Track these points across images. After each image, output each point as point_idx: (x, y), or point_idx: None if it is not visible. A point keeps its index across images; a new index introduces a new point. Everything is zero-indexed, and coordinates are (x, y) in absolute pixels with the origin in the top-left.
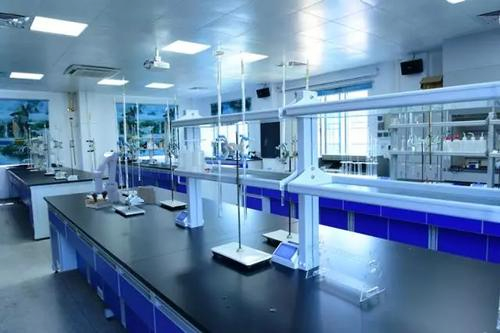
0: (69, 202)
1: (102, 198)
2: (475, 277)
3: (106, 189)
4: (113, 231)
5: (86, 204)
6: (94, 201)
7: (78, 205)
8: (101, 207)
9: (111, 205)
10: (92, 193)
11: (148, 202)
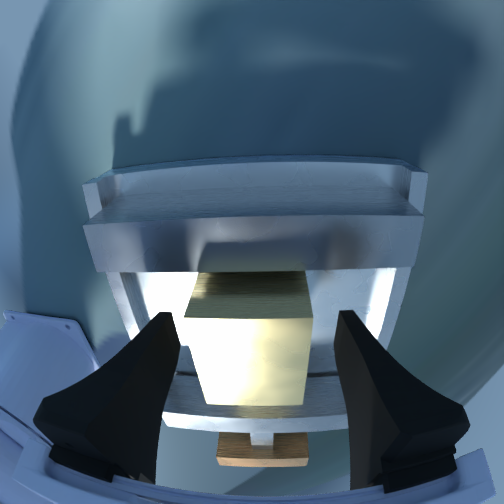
0: (282, 488)
1: (215, 339)
2: None
3: (36, 493)
4: None
5: None
6: None
7: (329, 440)
8: (328, 155)
9: (128, 167)
10: (479, 470)
11: None
